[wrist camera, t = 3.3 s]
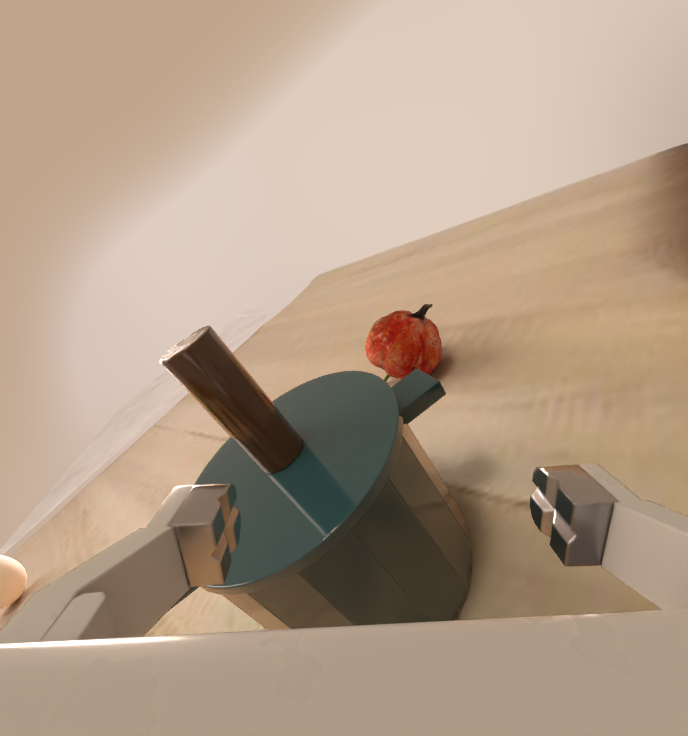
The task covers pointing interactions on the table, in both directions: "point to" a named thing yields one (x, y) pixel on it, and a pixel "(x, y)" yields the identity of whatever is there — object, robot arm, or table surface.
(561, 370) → the table surface
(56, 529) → the table surface
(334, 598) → the pot
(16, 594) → the egg
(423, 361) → the pomegranate
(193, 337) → the lid
